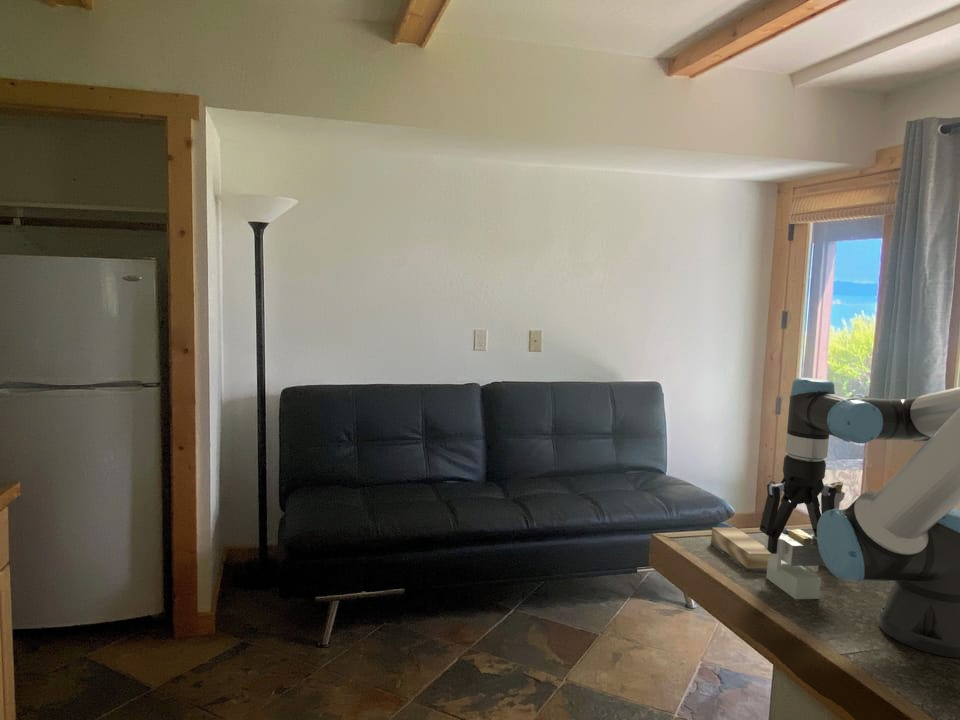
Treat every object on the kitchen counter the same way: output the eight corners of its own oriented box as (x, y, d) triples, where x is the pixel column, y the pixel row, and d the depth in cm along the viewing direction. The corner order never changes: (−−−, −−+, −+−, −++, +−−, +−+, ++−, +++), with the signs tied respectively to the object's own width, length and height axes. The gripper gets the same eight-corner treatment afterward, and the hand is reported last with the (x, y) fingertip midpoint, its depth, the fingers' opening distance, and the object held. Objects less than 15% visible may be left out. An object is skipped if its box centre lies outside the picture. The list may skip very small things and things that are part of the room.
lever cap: (826, 565, 134) (828, 540, 133) (790, 565, 133) (793, 540, 132) (798, 548, 143) (800, 524, 142) (764, 548, 141) (767, 524, 141)
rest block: (818, 598, 134) (821, 578, 133) (795, 599, 133) (797, 579, 132) (788, 577, 143) (790, 558, 143) (766, 577, 143) (768, 559, 142)
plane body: (773, 571, 146) (775, 553, 146) (747, 571, 145) (749, 553, 145) (734, 544, 162) (736, 527, 161) (710, 544, 161) (712, 527, 160)
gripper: (839, 452, 141) (827, 560, 143) (747, 451, 138) (736, 561, 140) (865, 462, 133) (852, 575, 136) (768, 460, 130) (756, 576, 133)
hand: (793, 568), depth 138 cm, fingers closed on lever cap, 7 cm apart
